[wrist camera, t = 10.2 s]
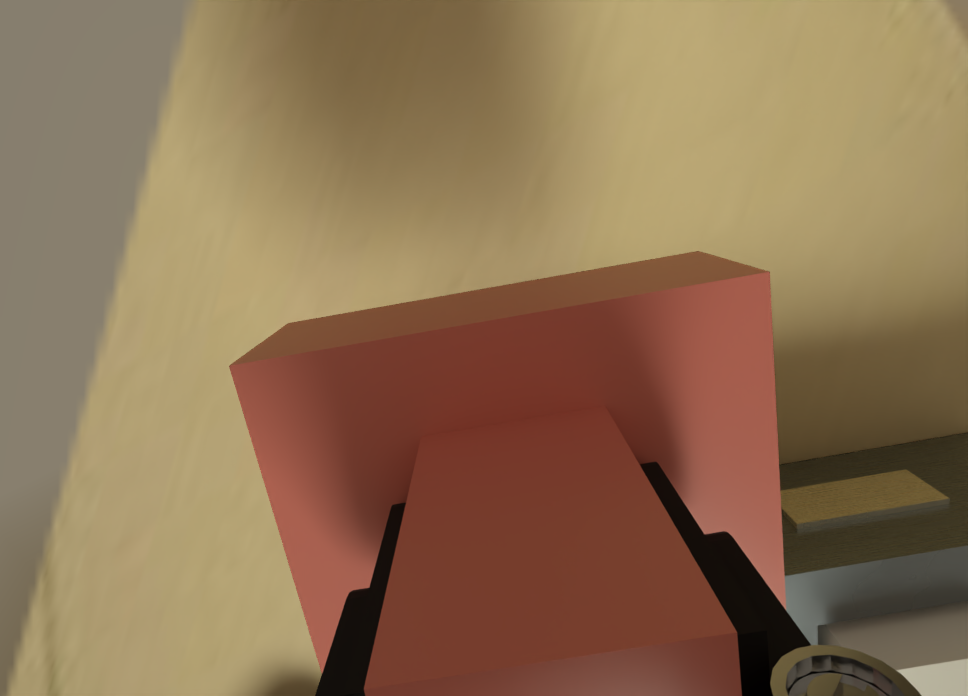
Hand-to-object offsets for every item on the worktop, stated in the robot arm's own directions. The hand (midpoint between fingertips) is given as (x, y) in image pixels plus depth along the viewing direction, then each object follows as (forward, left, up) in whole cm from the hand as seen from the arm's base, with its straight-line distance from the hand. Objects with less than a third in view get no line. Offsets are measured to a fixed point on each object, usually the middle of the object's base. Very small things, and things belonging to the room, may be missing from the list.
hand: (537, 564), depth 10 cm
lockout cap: (0, 0, -3) cm, 3 cm away
